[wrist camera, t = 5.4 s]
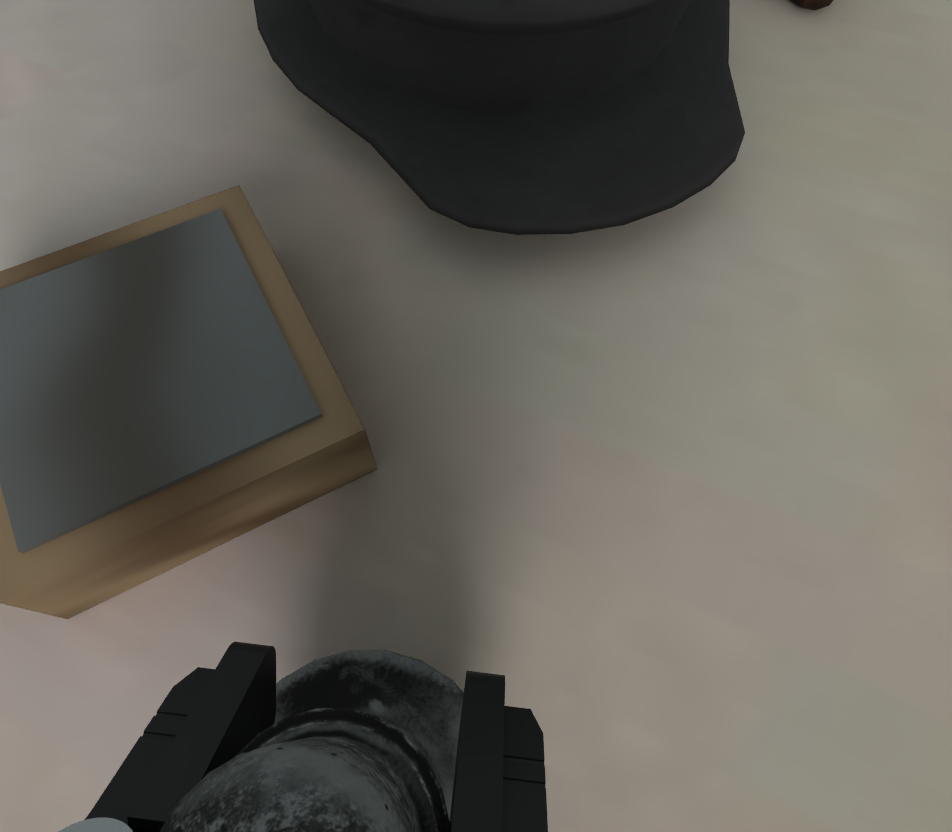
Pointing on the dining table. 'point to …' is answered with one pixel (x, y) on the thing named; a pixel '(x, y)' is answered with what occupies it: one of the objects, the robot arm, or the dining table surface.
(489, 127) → the casserole
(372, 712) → the dark grey chess piece
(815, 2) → the croissant
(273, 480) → the wooden picture frame
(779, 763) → the dining table surface
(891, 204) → the dining table surface
